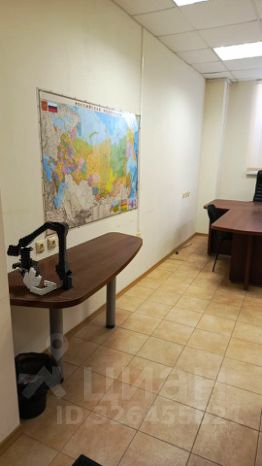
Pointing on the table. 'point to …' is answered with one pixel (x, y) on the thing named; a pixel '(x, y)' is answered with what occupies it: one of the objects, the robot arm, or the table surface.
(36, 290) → the holder
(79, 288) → the table surface
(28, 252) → the robot arm
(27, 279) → the white stepped block
